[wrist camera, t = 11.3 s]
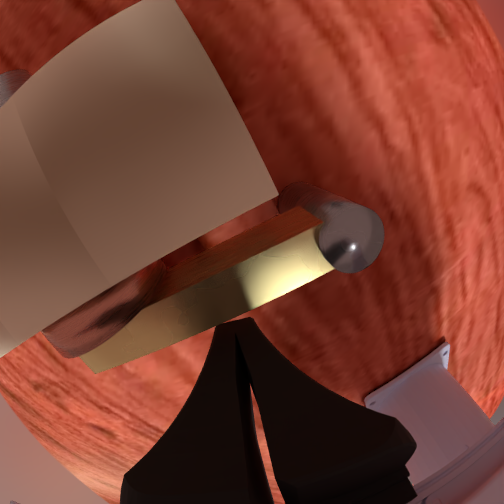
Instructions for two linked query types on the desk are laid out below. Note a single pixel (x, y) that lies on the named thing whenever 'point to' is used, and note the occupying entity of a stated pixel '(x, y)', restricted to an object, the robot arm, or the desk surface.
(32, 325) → the hitch block
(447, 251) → the desk surface
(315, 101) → the desk surface
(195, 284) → the bar
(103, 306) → the pin
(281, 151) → the desk surface
